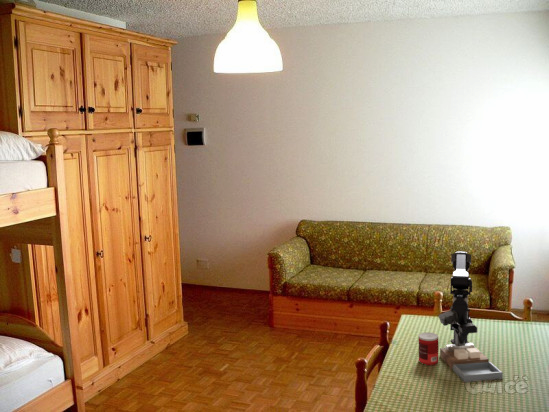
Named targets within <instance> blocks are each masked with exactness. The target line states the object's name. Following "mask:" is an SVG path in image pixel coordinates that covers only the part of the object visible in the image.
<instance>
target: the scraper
mask: <svg viewBox="0 0 549 412" xmlns="http://www.w3.org/2000/svg"><path fill="white" fill-rule="evenodd" d="M474 347H475V343H473V342H469V343H465V341H464V343H463V344H460V340H459V332H455V344H454V343H453V344H445V348H446V350H447V351H448V352H451V351H454V350H455V349H465V350H466V349H467V348H474Z"/></svg>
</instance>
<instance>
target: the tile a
mask: <svg viewBox="0 0 549 412" xmlns="http://www.w3.org/2000/svg"><path fill="white" fill-rule="evenodd" d="M454 356H455V357H456V358H457V359H458V360H459V359H468V352H467V351H466V350H465V349H455V350H454Z"/></svg>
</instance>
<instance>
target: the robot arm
mask: <svg viewBox="0 0 549 412" xmlns="http://www.w3.org/2000/svg"><path fill="white" fill-rule="evenodd" d="M450 257H451V258H450V259H451V261H450V263H451V265H452V268H453V271H452V277H450V295H452V305H451V306H450V308H449V309H450V310H448V311H444V312H442V313H440V314H439V315H438V319H439V322H440V323H441V324H442V325H443V326H445V327H447V326H448V325H450V331H453V339H450V342H452V343H453V344H455V332H459V340H460V344H463V343H464V341H465V343H470V342H469V341H468V335H469V334H476V333H478V327H477V326H476V325H475V324H474V322H473V320H472V317H470V313H469V312H471V310H470V308H469V295H470V296H471V293H472V292H473V280H472V278H471V277H470V275H469V270H470V268H471V267H470V265H472V254H470V253H468V252H466V251H456V252H454V253H451V256H450Z"/></svg>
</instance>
